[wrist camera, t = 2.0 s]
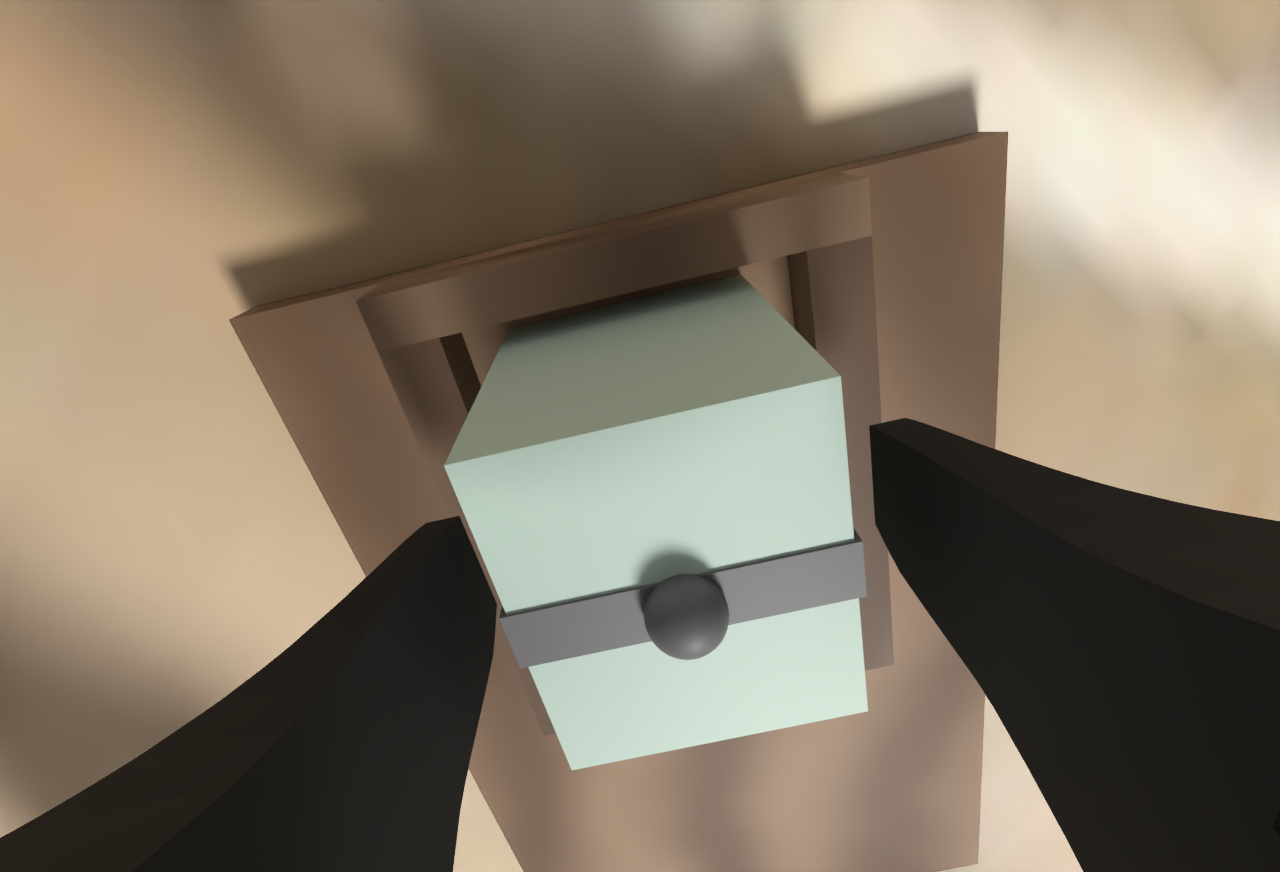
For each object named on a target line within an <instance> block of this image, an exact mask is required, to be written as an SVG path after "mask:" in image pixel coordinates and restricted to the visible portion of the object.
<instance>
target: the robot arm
mask: <svg viewBox="0 0 1280 872" xmlns="http://www.w3.org/2000/svg"><path fill="white" fill-rule="evenodd" d="M869 431H870V447H871V464H872V481H873V498H874V514H875V525H876V527H877V529H878V531H879V533H880V535H881V537H882V539H883V541H884V543H885V545H886V547H887V549H888V551H889V553H890V555H891V557H892V558H893V560H894V562H895V564H896V566H897V568H898V570H899V571H900V573H901V574H902V576H903V577H904V579H905V580H906V582H907V583H908V585H909V586H910V588H911V589H912V590H913V592H914V593H915V595H916V596H917V598H918V599H919V600H920V602H921V603H922V605H923V606H924V608H925V609H926V610H927V612H928V613H929V615H930V616H931V617H932V619H933V620H934V622H935V623H936V624H937V626H938V627H939V629H940V630H941V632H942V633H943V634H944V636H945V637H946V639H947V640H948V641H949V643H950V644H951V646H952V647H953V648H954V650H955V651H956V653H957V654H958V655H959V657H960V658H961V660H962V661H963V662H964V664H965V665H966V667H967V668H968V669H969V671H970V672H971V674H972V675H973V676H974V678H975V679H976V681H977V682H978V684H979V685H980V687H981V688H982V690H983V692H984V693H985V695H986V696H987V698H988V699H989V701H990V702H991V704H992V705H993V707H994V709H995V710H996V712H997V714H998V716H999V717H1000V719H1001V721H1002V723H1003V724H1004V726H1005V728H1006V730H1007V731H1008V733H1009V735H1010V737H1011V739H1012V740H1013V742H1014V744H1015V746H1016V747H1017V749H1018V751H1019V753H1020V754H1021V756H1022V758H1023V760H1024V761H1025V763H1026V765H1027V767H1028V768H1029V770H1030V772H1031V774H1032V776H1033V778H1034V779H1035V781H1036V783H1037V785H1038V787H1039V789H1040V791H1041V792H1042V794H1043V796H1044V798H1045V800H1046V802H1047V803H1048V805H1049V807H1050V809H1051V811H1052V813H1053V815H1054V816H1055V818H1056V820H1057V822H1058V824H1059V826H1060V827H1061V829H1062V831H1063V833H1064V835H1065V837H1066V839H1067V841H1068V842H1069V844H1070V846H1071V848H1072V850H1073V852H1074V854H1075V856H1076V858H1077V860H1078V862H1079V864H1080V866H1081V868H1082V870H1083V872H1280V521H1274V520H1268V519H1263V518H1257V517H1251V516H1246V515H1240V514H1234V513H1229V512H1223V511H1217V510H1212V509H1207V508H1202V507H1197V506H1192V505H1188V504H1183V503H1178V502H1174V501H1169V500H1165V499H1161V498H1157V497H1153V496H1149V495H1144V494H1140V493H1136V492H1132V491H1128V490H1124V489H1119V488H1116V487H1112V486H1108V485H1105V484H1101V483H1097V482H1094V481H1090V480H1087V479H1084V478H1081V477H1077V476H1074V475H1071V474H1067V473H1064V472H1061V471H1058V470H1054V469H1051V468H1048V467H1045V466H1042V465H1039V464H1036V463H1033V462H1030V461H1027V460H1024V459H1021V458H1018V457H1015V456H1013V455H1010V454H1007V453H1004V452H1001V451H999V450H996V449H993V448H990V447H988V446H985V445H982V444H979V443H977V442H974V441H971V440H969V439H966V438H963V437H961V436H958V435H955V434H953V433H950V432H947V431H945V430H942V429H939V428H936V427H934V426H931V425H928V424H925V423H922V422H919V421H916V420H912V419H908V418H902V419H897V420H893V421H888V422H884V423H879V424H874V425H870V426H869ZM496 612H497V603H496V600H495V598H494V596H493V593H492V591H491V589H490V586H489V584H488V582H487V579H486V577H485V575H484V572H483V570H482V568H481V565H480V563H479V561H478V558H477V556H476V554H475V551H474V549H473V546H472V544H471V542H470V539H469V537H468V535H467V532H466V530H465V528H464V525H463V523H462V521H461V518H460V516H456V517H451V518H447V519H442V520H437V521H433V522H428V523H425V524H424V525H423V526H422V527H420V528H419V529H418V530H416V531H415V532H414V533H413V534H412V535H411V536H410V537H408V538H407V539H406V540H405V541H404V542H403V543H402V544H401V545H400V546H399V547H397V548H396V549H395V550H394V551H393V552H392V553H391V554H390V555H389V556H388V557H387V558H386V559H385V560H384V561H383V562H382V563H381V564H380V565H379V566H378V567H376V568H375V569H374V570H373V571H372V572H371V573H370V574H369V575H368V576H367V577H366V578H365V579H364V580H363V581H362V582H361V583H360V584H359V585H358V586H356V587H355V588H354V589H353V590H352V591H351V592H350V593H349V594H348V595H347V596H346V597H345V598H344V599H343V600H342V601H341V602H339V603H338V604H337V605H336V606H335V607H334V608H333V609H332V610H330V611H329V612H328V613H327V614H326V615H325V616H324V617H323V618H321V619H320V620H319V621H318V622H317V623H316V624H315V625H314V626H312V627H311V628H310V629H309V630H308V631H307V632H306V633H305V634H303V635H302V636H301V637H300V638H299V639H298V640H297V641H296V642H294V643H293V644H292V645H291V646H290V647H288V648H287V649H286V650H285V651H284V652H282V653H281V654H280V655H279V656H278V657H276V658H275V659H274V660H273V661H271V662H270V663H269V664H268V665H266V666H265V667H264V668H263V669H261V670H260V671H259V672H258V673H256V674H255V675H254V676H252V677H251V678H250V679H248V680H247V681H246V682H244V683H243V684H242V685H240V686H239V687H238V688H237V689H235V690H234V691H233V692H231V693H230V694H229V695H227V696H226V697H225V698H223V699H222V700H220V701H219V702H218V703H216V704H215V705H214V706H212V707H211V708H209V709H208V710H206V711H205V712H203V713H202V714H200V715H199V716H197V717H196V718H195V719H193V720H192V721H190V722H189V723H187V724H186V725H184V726H183V727H181V728H180V729H178V730H177V731H175V732H174V733H172V734H171V735H170V736H168V737H167V738H165V739H164V740H162V741H161V742H159V743H158V744H156V745H155V746H153V747H152V748H150V749H149V750H148V751H146V752H145V753H143V754H141V755H140V756H138V757H137V758H135V759H134V760H132V761H130V762H129V763H127V764H126V765H124V766H122V767H121V768H119V769H118V770H116V771H114V772H113V773H111V774H110V775H108V776H106V777H105V778H103V779H101V780H100V781H98V782H97V783H95V784H93V785H92V786H90V787H88V788H87V789H85V790H83V791H82V792H80V793H78V794H76V795H75V796H73V797H71V798H70V799H68V800H66V801H65V802H63V803H61V804H60V805H58V806H56V807H54V808H53V809H51V810H49V811H48V812H46V813H44V814H42V815H41V816H39V817H37V818H35V819H34V820H32V821H30V822H28V823H27V824H25V825H23V826H21V827H20V828H18V829H16V830H14V831H12V832H11V833H9V834H7V835H5V836H3V837H1V838H0V872H453V864H454V856H455V848H456V839H457V831H458V823H459V815H460V808H461V802H462V797H463V791H464V786H465V781H466V776H467V772H468V767H469V763H470V758H471V754H472V750H473V745H474V741H475V736H476V732H477V727H478V723H479V719H480V714H481V710H482V705H483V701H484V696H485V692H486V687H487V683H488V678H489V673H490V669H491V664H492V659H493V651H494V641H495V629H496Z"/></svg>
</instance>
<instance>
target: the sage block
mask: <svg viewBox="0 0 1280 872" xmlns="http://www.w3.org/2000/svg"><path fill="white" fill-rule="evenodd" d="M444 467H445V470H446V472H447V474H448V477H449V479H450V481H451V484H452V486H453V489H454V491H455V493H456V496H457V498H458V501H459V503H460V505H461V508H462V510H463V512H464V515H465V517H466V520H467V522H468V524H469V527H470V529H471V532H472V534H473V536H474V539H475V541H476V543H477V546H478V548H479V551H480V553H481V555H482V558H483V560H484V563H485V565H486V567H487V570H488V572H489V574H490V577H491V579H492V582H493V584H494V586H495V589H496V591H497V594H498V596H499V598H500V601H501V603H502V608H501V612H500V617H499V620H500V622H501V624H502V627H503V629H504V631H505V634H506V636H507V638H508V641H509V643H510V645H511V648H512V650H513V652H514V655H515V657H516V659H517V662H518V664H519V666H520V669H521V668H525V667H529V670H530V672H531V675H532V677H533V679H534V682H535V684H536V687H537V689H538V691H539V694H540V696H541V698H542V701H543V703H544V706H545V708H546V710H547V713H548V715H549V718H550V720H551V722H552V725H553V727H554V729H555V732H556V734H557V737H558V739H559V741H560V744H561V746H562V749H563V751H564V753H565V756H566V758H567V760H568V763H569V765H570V768H571V770H577V769H582V768H587V767H592V766H597V765H602V764H607V763H612V762H617V761H622V760H627V759H632V758H637V757H642V756H647V755H652V754H657V753H662V752H667V751H672V750H677V749H682V748H687V747H692V746H697V745H702V744H707V743H712V742H717V741H722V740H727V739H732V738H737V737H742V736H747V735H752V734H757V733H762V732H767V731H772V730H777V729H782V728H787V727H792V726H797V725H802V724H807V723H812V722H817V721H822V720H827V719H832V718H837V717H842V716H847V715H852V714H857V713H863V712H868V704H867V692H866V679H865V667H864V655H863V642H862V630H861V618H860V605H859V598H862V597H866V596H867V592H866V578H865V565H864V551H863V541H862V539H861V538H860V536H859V535H858V533H857V532H856V530H855V528H854V527H853V519H852V507H851V494H850V482H849V470H848V457H847V445H846V433H845V420H844V408H843V395H842V383H841V376H840V375H839V374H838V373H837V371H836V370H835V369H834V368H833V367H832V366H831V365H830V364H829V363H828V362H827V361H826V360H825V359H824V358H823V357H822V356H821V355H820V354H819V353H818V352H817V351H816V350H815V349H814V348H813V347H812V346H811V345H810V344H809V343H808V342H807V341H806V340H805V339H804V338H803V337H802V336H801V335H800V334H799V333H798V332H797V331H796V330H795V329H794V328H793V327H792V326H791V325H790V324H789V323H788V322H787V321H786V320H785V319H784V318H783V317H782V316H781V315H780V314H779V313H778V312H777V311H776V310H775V309H774V308H773V306H772V305H771V304H770V303H769V302H768V301H767V300H766V299H765V298H764V297H763V296H762V295H761V294H760V293H759V292H758V291H757V290H756V289H755V288H754V287H753V286H752V285H751V284H750V283H749V282H748V281H747V280H746V279H745V278H744V277H743V276H742V275H741V274H740V275H736V276H732V277H728V278H723V279H719V280H715V281H711V282H707V283H702V284H698V285H694V286H690V287H685V288H681V289H677V290H673V291H668V292H664V293H660V294H656V295H651V296H647V297H643V298H639V299H634V300H630V301H626V302H622V303H617V304H613V305H609V306H605V307H600V308H596V309H592V310H588V311H583V312H579V313H575V314H571V315H566V316H562V317H558V318H554V319H549V320H545V321H541V322H537V323H532V324H528V325H524V326H520V327H515V328H511V329H509V330H508V332H507V334H506V336H505V338H504V340H503V342H502V345H501V347H500V349H499V351H498V353H497V355H496V357H495V359H494V361H493V363H492V366H491V368H490V370H489V372H488V374H487V376H486V378H485V380H484V382H483V384H482V387H481V389H480V391H479V393H478V395H477V397H476V399H475V401H474V403H473V405H472V408H471V410H470V412H469V414H468V416H467V418H466V420H465V422H464V424H463V426H462V429H461V431H460V433H459V435H458V437H457V439H456V441H455V443H454V445H453V447H452V450H451V452H450V454H449V456H448V458H447V460H446V462H445V464H444Z"/></svg>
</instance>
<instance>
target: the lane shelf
mask: <svg viewBox="0 0 1280 872" xmlns="http://www.w3.org/2000/svg"><path fill="white" fill-rule="evenodd" d="M1007 146H1008V132H977V133H973V134H969V135H965V136H961V137H957V138H953V139H949V140H944V141H940V142H936V143H932V144H928V145H924V146H920V147H915V148H911V149H907V150H903V151H899V152H895V153H891V154H887V155H882V156H878V157H874V158H870V159H866V160H862V161H858V162H854V163H849V164H845V165H841V166H837V167H833V168H829V169H825V170H820V171H816V172H812V173H808V174H804V175H800V176H796V177H792V178H787V179H783V180H779V181H775V182H771V183H767V184H763V185H758V186H754V187H750V188H746V189H742V190H738V191H734V192H730V193H725V194H721V195H717V196H713V197H709V198H705V199H701V200H696V201H692V202H688V203H684V204H680V205H676V206H672V207H668V208H663V209H659V210H655V211H651V212H647V213H643V214H639V215H634V216H630V217H626V218H622V219H618V220H614V221H610V222H606V223H601V224H597V225H593V226H589V227H585V228H581V229H577V230H573V231H568V232H564V233H560V234H556V235H552V236H548V237H544V238H539V239H535V240H531V241H527V242H523V243H519V244H515V245H511V246H506V247H502V248H498V249H494V250H490V251H486V252H482V253H477V254H473V255H469V256H465V257H461V258H457V259H453V260H449V261H444V262H440V263H436V264H432V265H428V266H424V267H420V268H415V269H411V270H407V271H403V272H399V273H395V274H391V275H387V276H382V277H378V278H374V279H370V280H366V281H362V282H358V283H354V284H349V285H345V286H341V287H337V288H333V289H329V290H325V291H320V292H316V293H312V294H308V295H304V296H300V297H296V298H292V299H287V300H283V301H279V302H275V303H271V304H267V305H263V306H258V307H254V308H252V309H250V310H248V311H246V312H244V313H242V314H240V315H238V316H236V317H234V318H232V319H230V320H229V321H230V323H231V325H232V326H233V328H234V330H235V332H236V334H237V336H238V338H239V339H240V341H241V343H242V345H243V347H244V349H245V351H246V353H247V354H248V356H249V358H250V360H251V362H252V364H253V366H254V368H255V369H256V371H257V373H258V375H259V377H260V379H261V381H262V383H263V384H264V386H265V388H266V390H267V392H268V394H269V396H270V398H271V399H272V401H273V403H274V405H275V407H276V409H277V411H278V413H279V414H280V416H281V418H282V420H283V422H284V424H285V426H286V427H287V429H288V431H289V433H290V435H291V437H292V439H293V441H294V442H295V444H296V446H297V448H298V450H299V452H300V454H301V456H302V457H303V459H304V461H305V463H306V465H307V467H308V469H309V471H310V472H311V474H312V476H313V478H314V480H315V482H316V484H317V486H318V487H319V489H320V491H321V493H322V495H323V497H324V499H325V501H326V502H327V504H328V506H329V508H330V510H331V512H332V514H333V515H334V517H335V519H336V521H337V523H338V525H339V527H340V529H341V530H342V532H343V534H344V536H345V538H346V540H347V542H348V544H349V545H350V547H351V549H352V551H353V553H354V555H355V557H356V559H357V560H358V562H359V564H360V566H361V568H362V570H363V572H364V574H365V575H366V577H367V576H368V575H369V574H370V573H371V572H372V571H373V570H374V569H375V568H376V567H378V566H379V565H380V564H381V563H382V562H383V561H384V560H385V559H386V558H387V557H388V556H389V555H390V554H391V553H392V552H393V551H394V550H395V549H396V548H397V547H399V546H400V545H401V544H402V543H403V542H404V541H405V540H406V539H407V538H408V537H410V536H411V535H412V534H413V533H414V532H415V531H416V530H418V529H419V528H420V527H422V526H423V525H424V524H425V523H428V522H433V521H437V520H442V519H447V518H451V517H456V516H460V518H461V521H462V523H463V525H464V528H465V530H466V532H467V535H468V537H469V539H470V542H471V544H472V546H473V549H474V551H475V554H476V556H477V558H478V561H479V563H480V565H481V568H482V570H483V572H484V575H485V577H486V579H487V582H488V584H489V586H490V589H491V591H492V593H493V596H494V598H495V600H496V603H497V612H496V629H495V641H494V651H493V659H492V664H491V669H490V673H489V678H488V683H487V687H486V692H485V696H484V701H483V705H482V710H481V714H480V719H479V723H478V727H477V732H476V736H475V741H474V745H473V750H472V754H471V758H470V763H469V767H468V768H469V770H470V772H471V774H472V776H473V778H474V780H475V781H476V783H477V785H478V787H479V789H480V791H481V793H482V794H483V796H484V798H485V800H486V802H487V804H488V806H489V808H490V809H491V811H492V813H493V815H494V817H495V819H496V821H497V823H498V824H499V826H500V828H501V830H502V832H503V834H504V836H505V838H506V839H507V841H508V843H509V845H510V847H511V849H512V851H513V853H514V854H515V856H516V858H517V860H518V862H519V864H520V866H521V868H522V869H523V871H524V872H936V871H941V870H947V869H952V868H957V867H963V866H968V865H973V864H978V849H979V824H980V800H981V776H982V752H983V727H984V703H985V693H984V692H983V690H982V688H981V687H980V685H979V684H978V682H977V681H976V679H975V678H974V676H973V675H972V674H971V672H970V671H969V669H968V668H967V667H966V665H965V664H964V662H963V661H962V660H961V658H960V657H959V655H958V654H957V653H956V651H955V650H954V648H953V647H952V646H951V644H950V643H949V641H948V640H947V639H946V637H945V636H944V634H943V633H942V632H941V630H940V629H939V627H938V626H937V624H936V623H935V622H934V620H933V619H932V617H931V616H930V615H929V613H928V612H927V610H926V609H925V608H924V606H923V605H922V603H921V602H920V600H919V599H918V598H917V596H916V595H915V593H914V592H913V590H912V589H911V588H910V586H909V585H908V583H907V582H906V580H905V579H904V577H903V576H902V574H901V573H900V571H899V570H898V568H897V566H896V564H895V562H894V560H893V558H892V557H891V555H890V553H889V551H888V549H887V547H886V545H885V543H884V541H883V539H882V537H881V535H880V533H879V531H878V529H877V527H876V525H875V514H874V498H873V481H872V464H871V447H870V431H869V426H870V425H874V424H879V423H884V422H888V421H893V420H897V419H902V418H908V419H912V420H916V421H919V422H922V423H925V424H928V425H931V426H934V427H936V428H939V429H942V430H945V431H947V432H950V433H953V434H955V435H958V436H961V437H963V438H966V439H969V440H971V441H974V442H977V443H979V444H982V445H985V446H988V447H990V448H993V449H995V436H996V412H997V388H998V364H999V339H1000V315H1001V291H1002V267H1003V242H1004V218H1005V194H1006V170H1007ZM740 274H741V275H742V276H743V277H744V278H745V279H746V280H747V281H748V282H749V283H750V284H751V285H752V286H753V287H754V288H755V289H756V290H757V291H758V292H759V293H760V294H761V295H762V296H763V297H764V298H765V299H766V300H767V301H768V302H769V303H770V304H771V305H772V306H773V308H774V309H775V310H776V311H777V312H778V313H779V314H780V315H781V316H782V317H783V318H784V319H785V320H786V321H787V322H788V323H789V324H790V325H791V326H792V327H793V328H794V329H795V330H796V331H797V332H798V333H799V334H800V335H801V336H802V337H803V338H804V339H805V340H806V341H807V342H808V343H809V344H810V345H811V346H812V347H813V348H814V349H815V350H816V351H817V352H818V353H819V354H820V355H821V356H822V357H823V358H824V359H825V360H826V361H827V362H828V363H829V364H830V365H831V366H832V367H833V368H834V369H835V370H836V371H837V373H838V374H839V375H840V376H841V383H842V395H843V408H844V420H845V433H846V445H847V457H848V470H849V482H850V494H851V507H852V519H853V527H854V528H855V530H856V532H857V533H858V535H859V536H860V538H861V539H862V541H863V551H864V565H865V578H866V592H867V596H866V597H862V598H859V605H860V618H861V630H862V642H863V655H864V667H865V679H866V692H867V704H868V712H863V713H857V714H852V715H847V716H842V717H837V718H832V719H827V720H822V721H817V722H812V723H807V724H802V725H797V726H792V727H787V728H782V729H777V730H772V731H767V732H762V733H757V734H752V735H747V736H742V737H737V738H732V739H727V740H722V741H717V742H712V743H707V744H702V745H697V746H692V747H687V748H682V749H677V750H672V751H667V752H662V753H657V754H652V755H647V756H642V757H637V758H632V759H627V760H622V761H617V762H612V763H607V764H602V765H597V766H592V767H587V768H582V769H577V770H571V768H570V765H569V763H568V760H567V758H566V756H565V753H564V751H563V749H562V746H561V744H560V741H559V739H558V737H557V734H556V732H555V729H554V727H553V725H552V722H551V720H550V718H549V715H548V713H547V710H546V708H545V706H544V703H543V701H542V698H541V696H540V694H539V691H538V689H537V687H536V684H535V682H534V679H533V677H532V675H531V672H530V670H529V667H525V668H521V669H520V666H519V664H518V662H517V659H516V657H515V655H514V652H513V650H512V648H511V645H510V643H509V641H508V638H507V636H506V634H505V631H504V629H503V627H502V624H501V622H500V620H499V617H500V612H501V608H502V603H501V601H500V598H499V596H498V594H497V591H496V589H495V586H494V584H493V582H492V579H491V577H490V574H489V572H488V570H487V567H486V565H485V563H484V560H483V558H482V555H481V553H480V551H479V548H478V546H477V543H476V541H475V539H474V536H473V534H472V532H471V529H470V527H469V524H468V522H467V520H466V517H465V515H464V512H463V510H462V508H461V505H460V503H459V501H458V498H457V496H456V493H455V491H454V489H453V486H452V484H451V481H450V479H449V477H448V474H447V472H446V470H445V467H444V464H445V462H446V460H447V458H448V456H449V454H450V452H451V450H452V447H453V445H454V443H455V441H456V439H457V437H458V435H459V433H460V431H461V429H462V426H463V424H464V422H465V420H466V418H467V416H468V414H469V412H470V410H471V408H472V405H473V403H474V401H475V399H476V397H477V395H478V393H479V391H480V389H481V387H482V384H483V382H484V380H485V378H486V376H487V374H488V372H489V370H490V368H491V366H492V363H493V361H494V359H495V357H496V355H497V353H498V351H499V349H500V347H501V345H502V342H503V340H504V338H505V336H506V334H507V332H508V330H509V329H511V328H515V327H520V326H524V325H528V324H532V323H537V322H541V321H545V320H549V319H554V318H558V317H562V316H566V315H571V314H575V313H579V312H583V311H588V310H592V309H596V308H600V307H605V306H609V305H613V304H617V303H622V302H626V301H630V300H634V299H639V298H643V297H647V296H651V295H656V294H660V293H664V292H668V291H673V290H677V289H681V288H685V287H690V286H694V285H698V284H702V283H707V282H711V281H715V280H719V279H723V278H728V277H732V276H736V275H740Z"/></svg>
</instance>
